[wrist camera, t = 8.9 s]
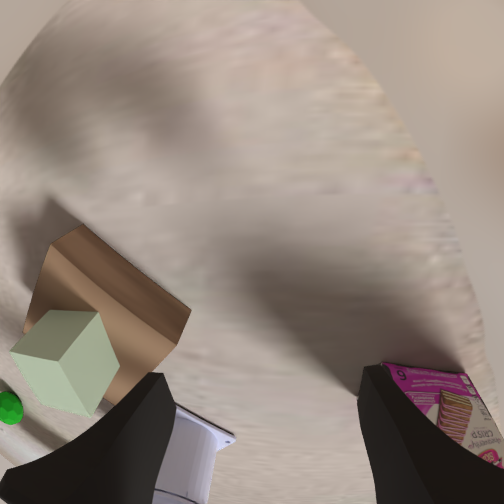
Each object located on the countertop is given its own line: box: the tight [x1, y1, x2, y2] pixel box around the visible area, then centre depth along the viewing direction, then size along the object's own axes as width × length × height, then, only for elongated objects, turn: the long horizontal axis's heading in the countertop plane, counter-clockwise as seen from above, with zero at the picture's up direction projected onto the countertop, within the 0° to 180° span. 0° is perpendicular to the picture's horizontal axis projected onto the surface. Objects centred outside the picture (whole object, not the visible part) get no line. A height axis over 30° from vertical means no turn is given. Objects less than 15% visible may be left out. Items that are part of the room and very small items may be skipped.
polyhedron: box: [0, 391, 23, 425], centre depth 28 cm, size 5×5×5 cm
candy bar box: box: [357, 362, 504, 469], centre depth 16 cm, size 11×5×16 cm, turn 75°
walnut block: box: [23, 224, 192, 405], centre depth 20 cm, size 10×10×4 cm
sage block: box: [9, 310, 120, 418], centre depth 16 cm, size 4×4×5 cm
